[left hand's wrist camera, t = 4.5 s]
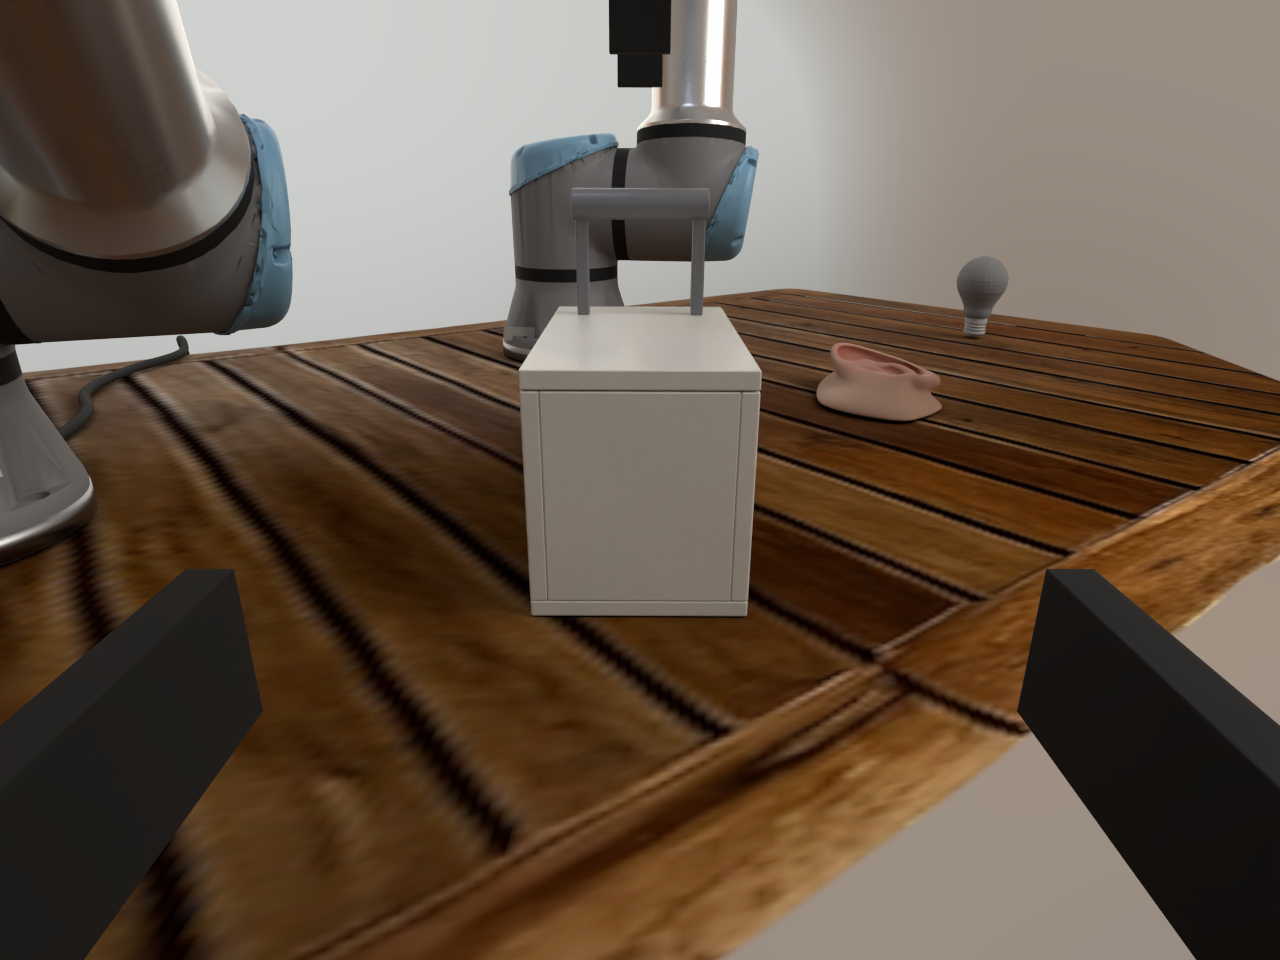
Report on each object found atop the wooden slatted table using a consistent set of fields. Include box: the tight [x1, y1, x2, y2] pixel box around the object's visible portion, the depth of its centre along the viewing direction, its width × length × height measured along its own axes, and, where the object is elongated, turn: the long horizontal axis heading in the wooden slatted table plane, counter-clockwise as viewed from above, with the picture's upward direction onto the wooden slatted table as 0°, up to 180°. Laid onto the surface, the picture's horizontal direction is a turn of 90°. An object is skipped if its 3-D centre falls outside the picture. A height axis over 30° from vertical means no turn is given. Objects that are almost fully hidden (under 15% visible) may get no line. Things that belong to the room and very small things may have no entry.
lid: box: [518, 188, 762, 391], centre depth 39 cm, size 17×10×8 cm, turn 0°
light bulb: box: [957, 257, 1008, 337], centre depth 100 cm, size 6×6×10 cm
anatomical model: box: [817, 343, 942, 421], centre depth 71 cm, size 13×4×12 cm
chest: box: [520, 390, 760, 616], centre depth 42 cm, size 17×10×11 cm, turn 0°
